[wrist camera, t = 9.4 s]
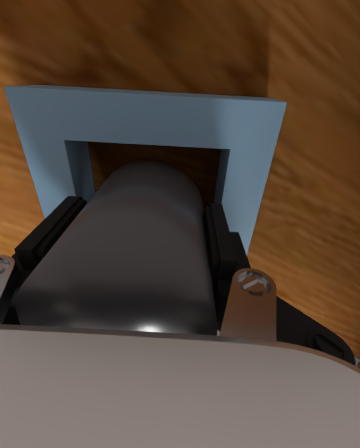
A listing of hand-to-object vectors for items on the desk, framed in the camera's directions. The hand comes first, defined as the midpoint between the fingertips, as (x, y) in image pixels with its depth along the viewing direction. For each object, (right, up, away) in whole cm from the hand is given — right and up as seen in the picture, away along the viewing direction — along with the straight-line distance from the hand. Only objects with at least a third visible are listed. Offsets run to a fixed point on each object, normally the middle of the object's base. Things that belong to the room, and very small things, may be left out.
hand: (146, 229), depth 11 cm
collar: (0, +2, +3) cm, 4 cm away
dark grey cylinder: (0, +1, +1) cm, 2 cm away
